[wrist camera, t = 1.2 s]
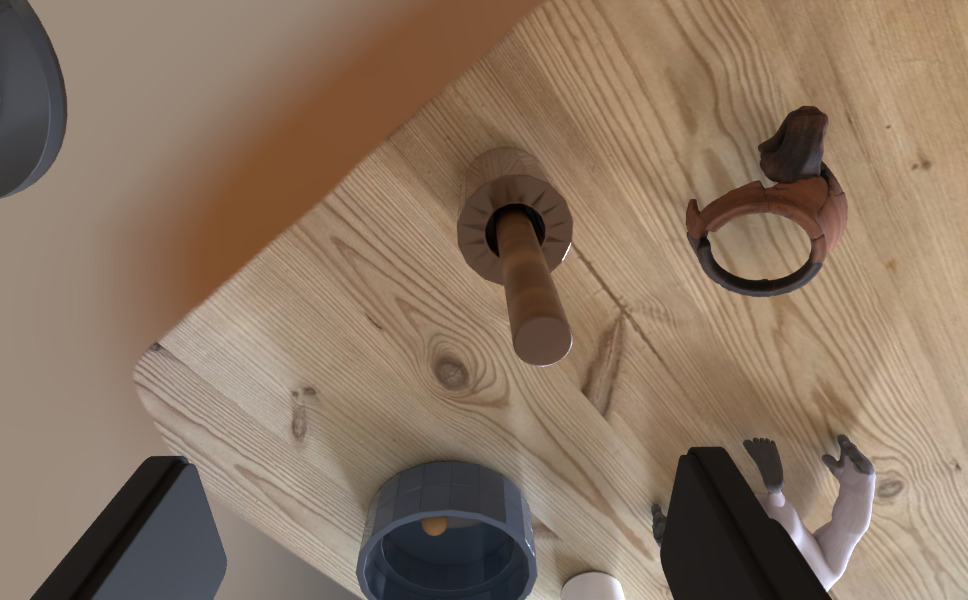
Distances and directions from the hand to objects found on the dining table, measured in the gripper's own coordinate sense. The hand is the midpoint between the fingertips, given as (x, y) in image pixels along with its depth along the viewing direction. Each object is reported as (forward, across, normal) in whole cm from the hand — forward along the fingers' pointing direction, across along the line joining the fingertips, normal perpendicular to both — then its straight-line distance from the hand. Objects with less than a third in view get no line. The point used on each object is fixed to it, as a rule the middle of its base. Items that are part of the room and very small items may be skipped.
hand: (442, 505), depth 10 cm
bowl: (+28, +2, +32) cm, 42 cm away
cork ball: (+26, +4, +30) cm, 40 cm away
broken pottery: (+28, -20, +1) cm, 35 cm away
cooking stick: (+27, -3, 0) cm, 27 cm away
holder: (+28, -3, 0) cm, 28 cm away
